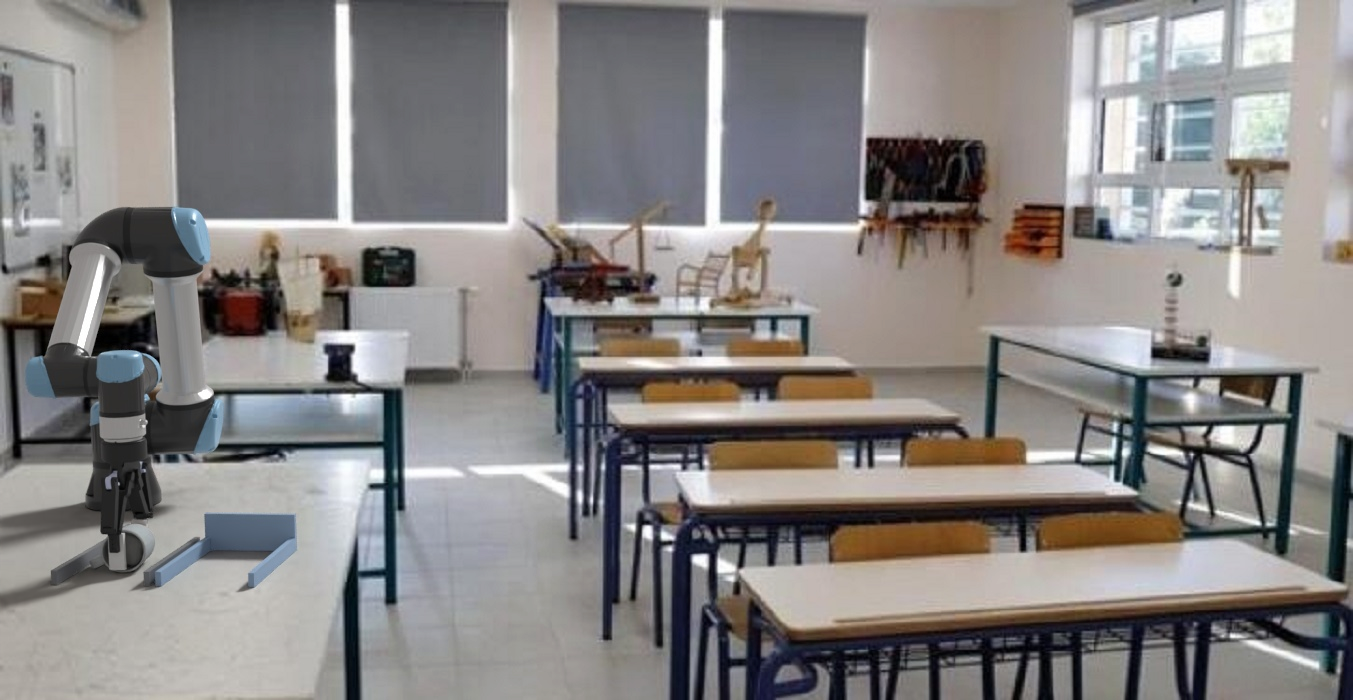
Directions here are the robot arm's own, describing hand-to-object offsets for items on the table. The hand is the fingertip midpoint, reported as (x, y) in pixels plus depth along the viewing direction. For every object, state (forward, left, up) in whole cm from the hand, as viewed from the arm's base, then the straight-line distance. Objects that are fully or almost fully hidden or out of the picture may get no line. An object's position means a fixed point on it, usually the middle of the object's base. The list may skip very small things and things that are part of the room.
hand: (129, 561), depth 226 cm
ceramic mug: (+1, -1, -1) cm, 2 cm away
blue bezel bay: (0, +18, -1) cm, 18 cm away
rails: (0, 0, -1) cm, 1 cm away
